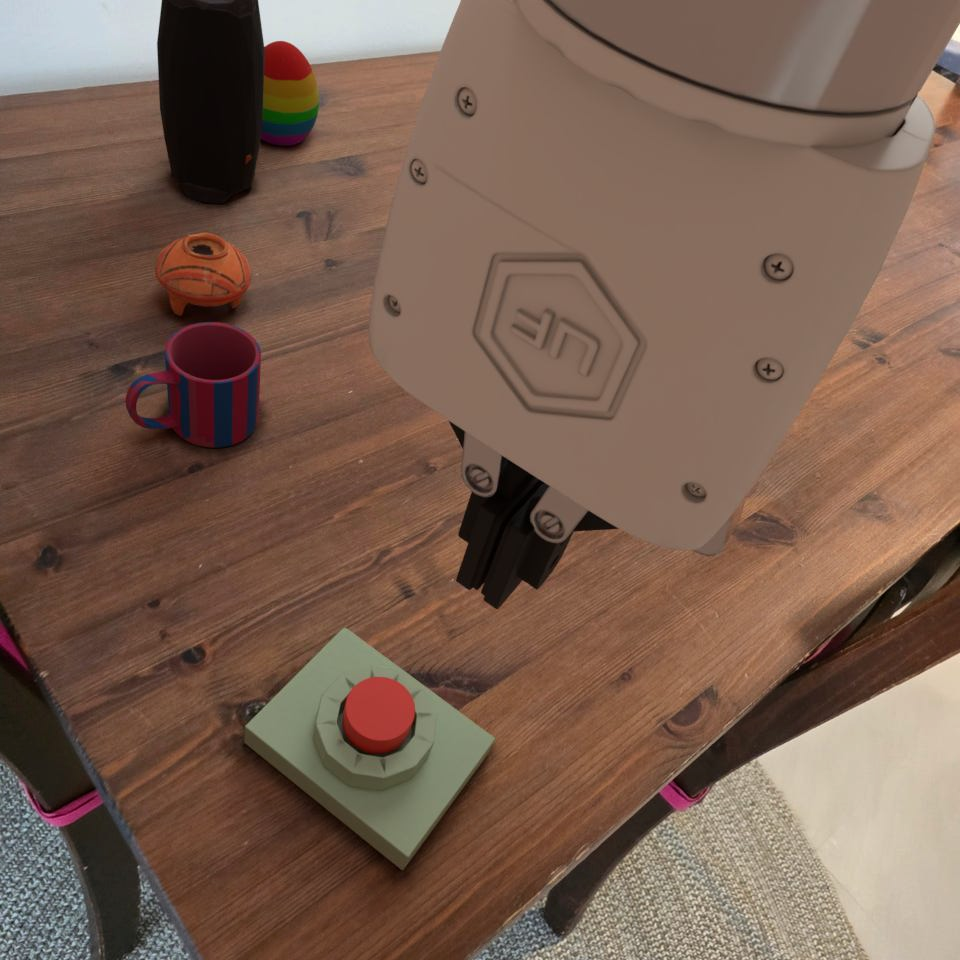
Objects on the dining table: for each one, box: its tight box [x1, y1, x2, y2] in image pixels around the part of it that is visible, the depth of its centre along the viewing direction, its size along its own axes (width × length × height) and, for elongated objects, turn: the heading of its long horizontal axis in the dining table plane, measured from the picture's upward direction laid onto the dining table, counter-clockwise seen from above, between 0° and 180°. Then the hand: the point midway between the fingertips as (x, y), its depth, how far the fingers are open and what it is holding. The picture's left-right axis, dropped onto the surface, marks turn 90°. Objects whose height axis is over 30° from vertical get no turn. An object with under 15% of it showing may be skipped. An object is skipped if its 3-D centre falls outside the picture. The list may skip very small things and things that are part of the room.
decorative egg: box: [261, 40, 320, 147], centre depth 96 cm, size 8×8×10 cm
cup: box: [125, 321, 262, 449], centre depth 66 cm, size 7×10×7 cm
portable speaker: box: [156, 0, 265, 204], centre depth 83 cm, size 9×9×20 cm
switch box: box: [243, 626, 496, 871], centre depth 53 cm, size 12×9×4 cm
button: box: [342, 677, 415, 754], centre depth 51 cm, size 4×4×2 cm
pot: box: [154, 232, 252, 316], centre depth 76 cm, size 8×8×7 cm
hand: (501, 568), depth 29 cm, fingers closed
